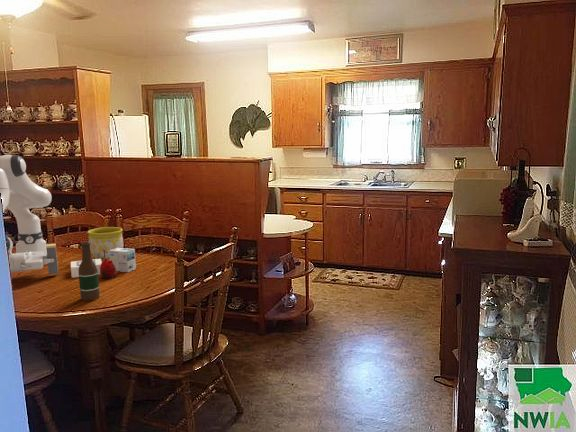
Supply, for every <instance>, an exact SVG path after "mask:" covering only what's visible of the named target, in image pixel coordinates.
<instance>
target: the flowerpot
mask: <svg viewBox="0 0 576 432" xmlns="http://www.w3.org/2000/svg"><path fill="white" fill-rule="evenodd" d="M87 234H88V242H90V250H91V256H93V259H101V262H103V260H104V259H105V257H106V259H107V260H110V250H112V249H116V248H124V238H123V228H122V227H116V226H106V227H105V226H104V227H96V228H92V229H89V230H87ZM103 249H104V250H105V251H107V252H108V253H106V252H105V255H106V256H105V257H104V252H103V251H104V250H103Z"/></svg>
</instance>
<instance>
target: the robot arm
mask: <svg viewBox="0 0 576 432" xmlns="http://www.w3.org/2000/svg"><path fill="white" fill-rule="evenodd" d="M26 171H27V164H26V161H25V159H24V158H23V157H22V156H20V155H15V154H14V155H12V154H4V155H0V193H1V199H2V205H3V213H4V212H5V210H6V208H7V209H8V210H9V211H10V212H11V213H12V214H13V216H14V217H15V220H16V224H17V225H16V226H17V230H18V233H17V238H18V241H17V242H16V244H15V250H16V251H15V253H12V251H13V246H14V244H13V241H12V239H11V238H10V237H8V236H7V235H6V238H7V246H8V253H9V262H10V270H11V272H10V273H19V272H27V271H29V270H30V271H31V270H33V271H34V270H41V269H43V267H44V265H48V263H51V262H54V258H50V259H47V250H46V244H47V241H46V240H44V238H43V231H42V229H41V228H42V227H41V226H42V225H41V219H40V217H39V216H38V215H37V214H34V213H32V212H31V211H30V210H29V209H38V208H43V207H44V208H45V207H48V206H49V205H51V203H52V193H51V192H50V191H49V190H48V189H47V188H44V187H42V186H40V185H38V184H37V183H35V182H34V181H33V180H31V179H30V177H29V176H28V174H27V172H26Z"/></svg>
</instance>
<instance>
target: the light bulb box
mask: <svg viewBox="0 0 576 432" xmlns="http://www.w3.org/2000/svg"><path fill="white" fill-rule="evenodd" d="M110 260H112V261H113V264H114V265H115V268H116V272H119V271H120V272H121V273H130V272H132V270H133V271H135V270H136V269H137V263H136V262H137V261H136V249H135V248H127V247H126V248H124V247H123V248H116V249H112V250H110Z"/></svg>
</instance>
